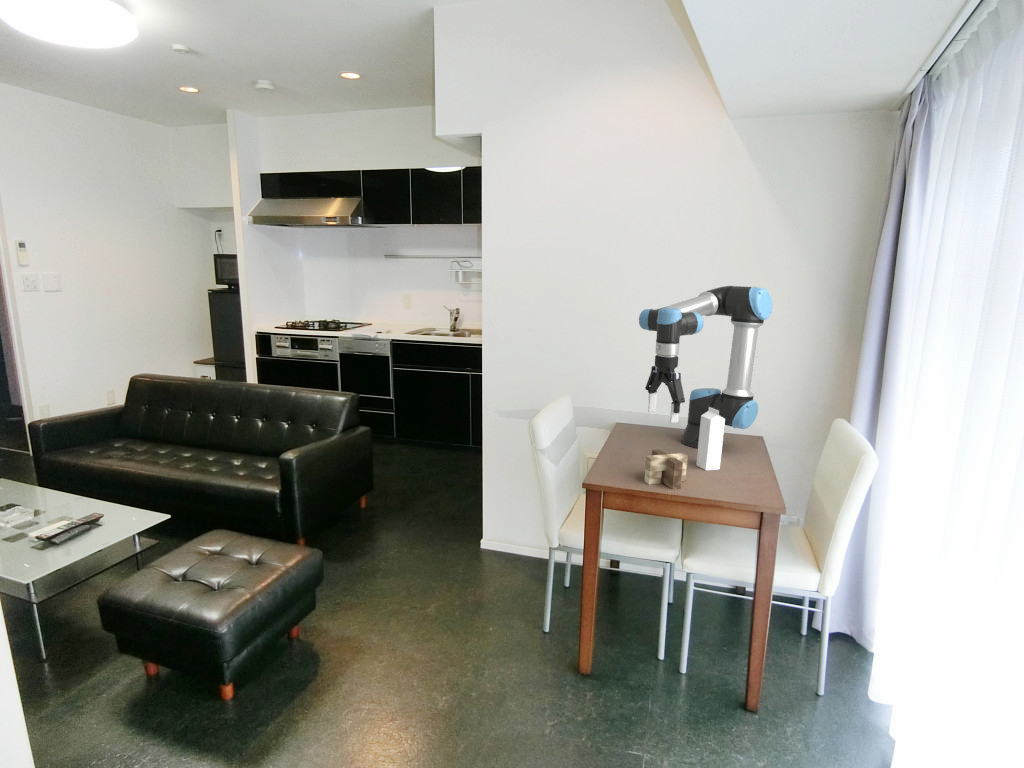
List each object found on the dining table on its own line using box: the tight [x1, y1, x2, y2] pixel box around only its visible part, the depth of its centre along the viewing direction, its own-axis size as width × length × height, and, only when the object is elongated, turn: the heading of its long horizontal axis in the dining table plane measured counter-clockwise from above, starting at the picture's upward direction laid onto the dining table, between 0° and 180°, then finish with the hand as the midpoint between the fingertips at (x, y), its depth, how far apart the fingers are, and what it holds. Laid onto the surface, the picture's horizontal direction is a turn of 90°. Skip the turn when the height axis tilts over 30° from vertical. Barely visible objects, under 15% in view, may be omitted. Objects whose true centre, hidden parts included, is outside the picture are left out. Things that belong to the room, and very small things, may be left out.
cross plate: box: [643, 452, 689, 485], centre depth 198 cm, size 14×3×9 cm, turn 108°
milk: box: [696, 407, 726, 471], centre depth 212 cm, size 6×6×22 cm
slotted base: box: [651, 448, 683, 490], centre depth 198 cm, size 3×14×9 cm, turn 18°
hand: (662, 416), depth 200 cm, fingers open, 13 cm apart
